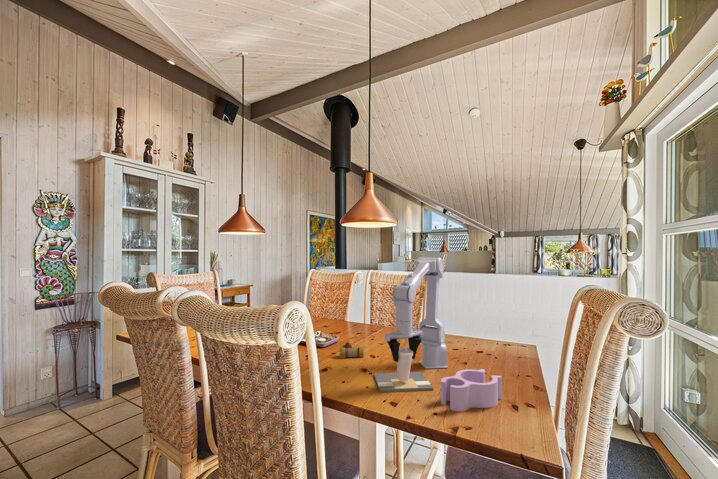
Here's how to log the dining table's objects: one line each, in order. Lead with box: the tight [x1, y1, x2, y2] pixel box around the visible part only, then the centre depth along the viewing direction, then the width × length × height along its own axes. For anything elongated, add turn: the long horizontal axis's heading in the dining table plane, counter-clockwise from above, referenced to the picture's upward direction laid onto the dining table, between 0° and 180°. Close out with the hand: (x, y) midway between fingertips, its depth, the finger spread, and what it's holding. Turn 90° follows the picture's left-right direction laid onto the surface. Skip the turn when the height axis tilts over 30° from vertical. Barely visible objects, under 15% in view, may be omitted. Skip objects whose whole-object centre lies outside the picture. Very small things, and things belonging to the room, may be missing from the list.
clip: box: [440, 368, 503, 412], centre depth 99 cm, size 20×12×7 cm, turn 118°
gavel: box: [339, 341, 365, 359], centre depth 148 cm, size 21×5×10 cm
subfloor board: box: [373, 371, 434, 393], centre depth 112 cm, size 18×14×1 cm
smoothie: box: [395, 338, 413, 381], centre depth 110 cm, size 6×6×14 cm
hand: (404, 359), depth 110 cm, fingers closed on smoothie, 6 cm apart
